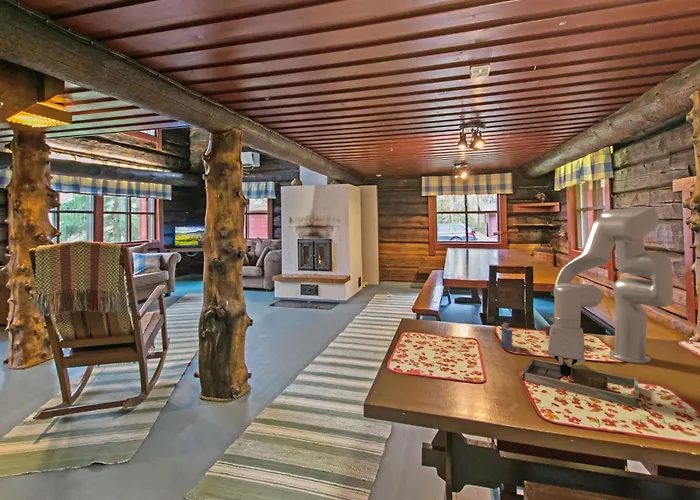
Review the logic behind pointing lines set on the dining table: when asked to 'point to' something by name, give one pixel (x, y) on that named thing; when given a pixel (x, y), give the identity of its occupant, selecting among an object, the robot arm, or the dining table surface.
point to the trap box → (553, 381)
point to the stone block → (588, 377)
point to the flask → (506, 337)
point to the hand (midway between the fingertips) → (565, 376)
